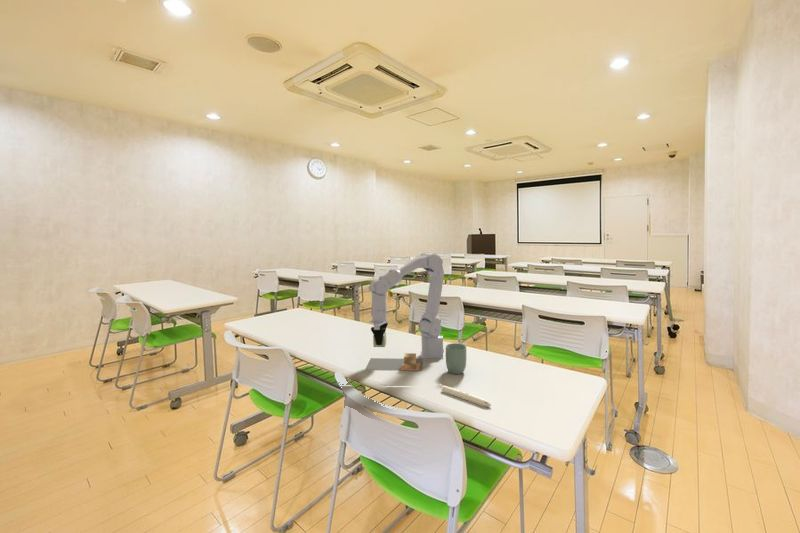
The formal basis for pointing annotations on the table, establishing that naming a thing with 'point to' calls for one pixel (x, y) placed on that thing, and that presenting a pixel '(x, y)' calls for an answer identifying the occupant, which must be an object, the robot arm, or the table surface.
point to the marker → (466, 396)
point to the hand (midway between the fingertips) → (380, 342)
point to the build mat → (391, 364)
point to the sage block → (382, 342)
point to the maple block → (410, 361)
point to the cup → (456, 358)
